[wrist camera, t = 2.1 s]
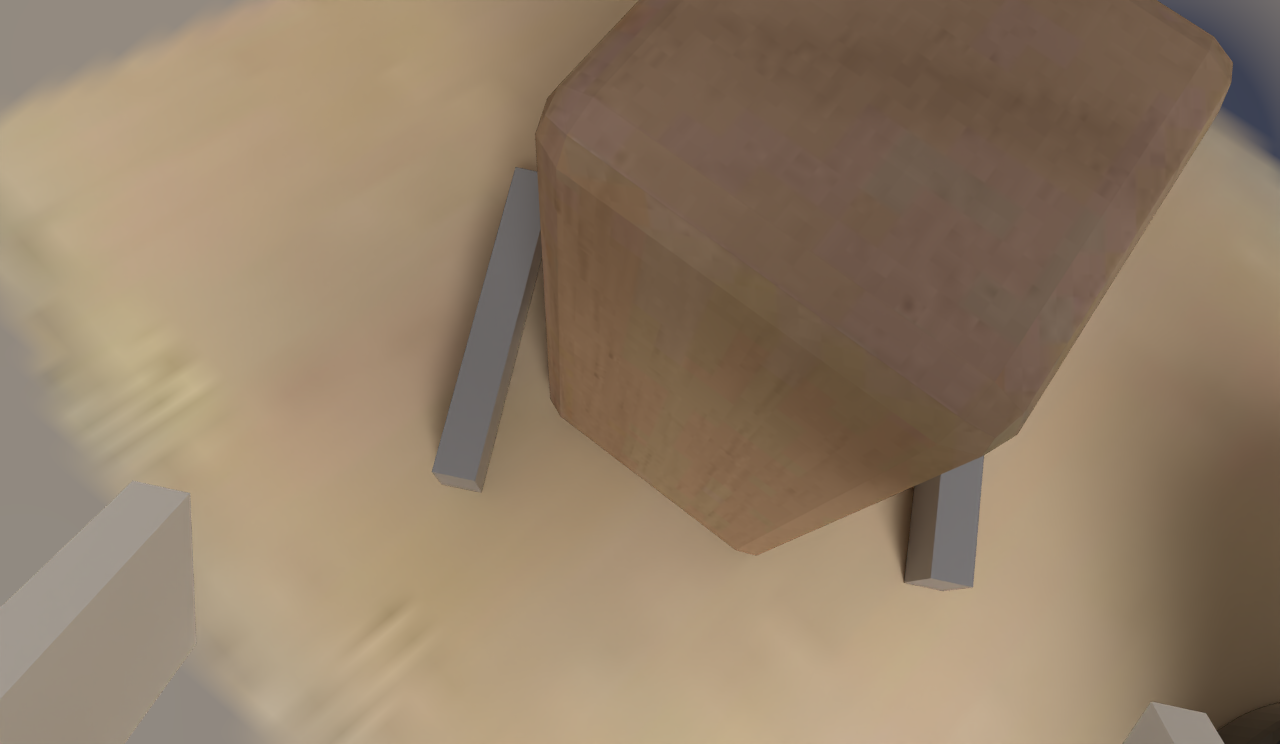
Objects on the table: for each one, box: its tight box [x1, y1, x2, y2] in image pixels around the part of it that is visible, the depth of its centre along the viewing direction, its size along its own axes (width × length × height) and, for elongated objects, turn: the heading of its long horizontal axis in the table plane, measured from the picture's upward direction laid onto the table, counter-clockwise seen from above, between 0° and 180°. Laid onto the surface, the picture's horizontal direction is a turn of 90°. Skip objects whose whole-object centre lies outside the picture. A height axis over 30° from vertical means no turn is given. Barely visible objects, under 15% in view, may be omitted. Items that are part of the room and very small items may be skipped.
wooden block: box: [535, 0, 1233, 555], centre depth 25 cm, size 10×10×20 cm
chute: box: [432, 167, 984, 591], centre depth 33 cm, size 12×19×2 cm, turn 79°
